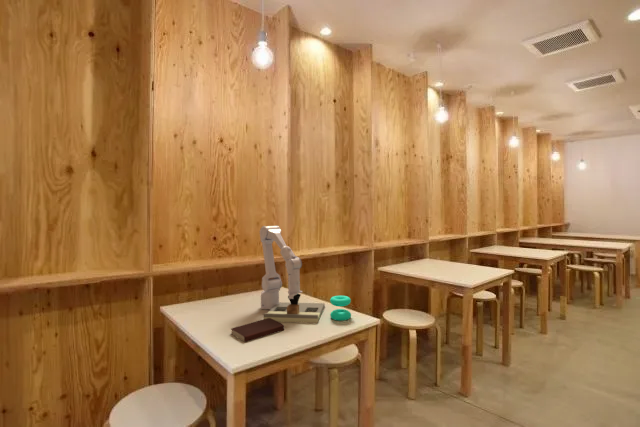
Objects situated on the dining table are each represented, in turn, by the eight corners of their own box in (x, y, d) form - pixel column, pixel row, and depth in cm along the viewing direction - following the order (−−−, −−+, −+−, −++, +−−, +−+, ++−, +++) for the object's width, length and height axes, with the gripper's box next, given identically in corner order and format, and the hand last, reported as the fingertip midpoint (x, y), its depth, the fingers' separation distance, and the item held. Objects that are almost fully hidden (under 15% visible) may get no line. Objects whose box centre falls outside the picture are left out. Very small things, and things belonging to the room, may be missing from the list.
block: (286, 315, 161) (286, 307, 161) (289, 312, 166) (289, 304, 166) (297, 315, 160) (297, 307, 160) (299, 312, 165) (299, 304, 165)
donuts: (346, 301, 155) (326, 298, 160) (346, 322, 155) (326, 319, 160) (353, 295, 164) (335, 293, 168) (354, 316, 164) (335, 313, 169)
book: (284, 331, 147) (284, 324, 147) (244, 343, 134) (244, 335, 134) (269, 324, 156) (269, 317, 156) (230, 335, 144) (230, 327, 144)
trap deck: (263, 321, 159) (263, 313, 159) (277, 305, 184) (277, 299, 184) (317, 322, 155) (317, 315, 155) (324, 307, 180) (324, 300, 180)
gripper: (299, 285, 159) (299, 314, 159) (304, 279, 173) (305, 305, 173) (284, 285, 160) (285, 314, 160) (291, 279, 174) (291, 305, 174)
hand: (294, 309), depth 167 cm, fingers closed
